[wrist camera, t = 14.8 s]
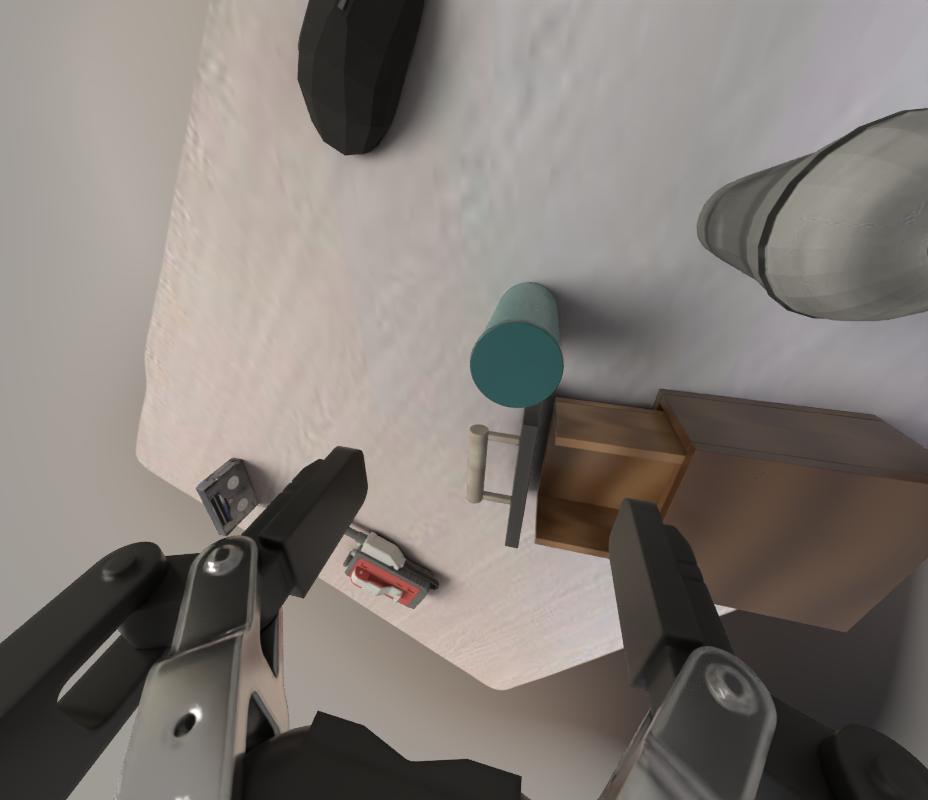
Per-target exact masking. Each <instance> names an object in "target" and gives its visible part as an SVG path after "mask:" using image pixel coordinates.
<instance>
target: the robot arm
mask: <svg viewBox="0 0 928 800" xmlns="http://www.w3.org/2000/svg"><path fill="white" fill-rule="evenodd" d="M367 490H368V483H367V476H366V469H365V462H364V455H363V452H362V451H361V450H359V449H353V448H347V447H342V446H337V447H336V448H334V449H333V451H332V452H331V453H330V454H329V455H328V456H327V457H326V458H325V460H322V459H318V460H316V461H315V462H313V463H311V464H310V465H308V466H306V467H305V468H303V469H302V470H301V471H300V473H299V474H298V475H297V476H296V477H295V478H294V479H293V480H292V483H289V484H288V485H287V486H286V488H285V489H284V490H283V492H282V493H280V494H279V495H278V496H277V497H276V498H275V499H274V500H273V501H272V503H271V504H270V505H269V506H268V507H267V508H266V509H265V510H264V511H263V512H262V513H261V514H260V515H259V516H258V518H257V519H256V520H255V521H254V522H253V523H252V524H251V525H250V526H249V527H248V528H247V529H246V530H245V531H244V532H243V533H242V534H241V535H239V536H231V537H227V538H224V539H221V540H219V541H217V542H215V543H213V544H211V545H210V546H208V547H207V548H206V549H204V550H203V551H202V552H201V553H195V554H184V555H173V556H164V554H163V552H162V551H161V549H160V548H159V547H158V545H156V544H154V543H151V542H138V543H133V544H130V545H127V546H124V547H122V548H119V549H117V550H115V551H113V552H112V553H110V554H108V555H107V556H105V557H104V558H102V559H101V560H100V561H98V562H97V563H96V564H95V565H93V566H92V567H91V568H90V569H89V570H88V571H86V572H85V573H84V574H83V575H81V576H80V577H79V578H78V579H77V580H75V581H74V582H73V583H72V584H71V585H70V586H68V587H67V588H66V589H65V590H64V591H62V592H61V593H60V594H59V595H58V596H57V597H55V598H54V599H53V600H52V601H51V602H49V603H48V604H47V605H46V606H45V607H43V608H42V609H41V610H40V611H39V612H37V613H36V614H35V615H34V616H33V617H31V618H30V619H29V620H28V621H27V622H26V623H24V625H22V626H21V627H20V628H19V629H17V630H16V631H15V632H14V633H12V634H11V635H10V636H9V637H8V638H7V639H5V640H4V641H3V642H2V643H1V644H0V800H66V799H67V798H68V796H69V795H70V794H71V792H72V791H73V790H74V789H75V787H76V786H77V785H78V783H79V782H80V781H81V780H82V778H83V777H84V776H85V774H86V773H87V772H88V770H89V769H90V768H91V766H92V765H93V764H94V763H95V761H96V760H97V759H98V757H99V756H100V755H101V754H102V752H103V751H104V750H105V748H106V747H107V746H108V745H109V743H110V742H111V741H112V739H113V738H114V737H115V735H116V734H117V733H118V732H119V730H120V729H121V727H122V726H123V725H124V724H125V722H126V721H127V720H128V719H129V717H130V716H131V715H132V713H133V712H134V711H135V709H136V708H137V707H138V706H139V707H138V711H137V714H136V718H135V722H134V725H133V729H132V733H131V736H130V740H129V745H128V748H127V752H126V755H125V759H124V762H123V766H122V770H121V774H120V777H119V781H118V785H117V788H116V792H115V796H114V799H113V800H530V799H529V798H528V797H526V796H525V795H524V794H523V793H521V778H522V777H521V776H519V775H516V774H513V773H509V772H506V771H503V770H500V769H497V768H494V767H491V766H488V765H485V764H481V763H478V762H475V761H472V760H469V759H458V760H437V761H418V762H415V761H409V760H407V759H405V758H404V757H403V756H401V755H400V754H399V753H398V752H396V751H395V750H394V749H393V748H391V747H390V746H389V745H388V744H386V743H385V742H384V741H383V740H381V739H380V738H379V737H378V736H376V735H375V734H374V733H373V732H371V731H370V730H369V729H368V728H366V727H365V726H363V725H361V724H357V723H354V722H351V721H348V720H345V719H342V718H339V717H336V716H333V715H330V714H327V713H323V712H320V711H317V714H316V716H315V718H314V720H313V723H312V725H310V726H304V727H299V728H295V729H292V730H290V728H289V714H288V705H287V700H286V695H285V690H284V677H283V611H282V605H283V603H284V602H285V600H286V599H287V597H288V596H289V595H292V596H296V597H300V598H304V597H305V596H306V594H307V592H308V591H309V589H310V588H311V586H312V585H313V583H314V581H315V580H316V578H317V577H318V575H319V573H320V572H321V570H322V569H323V567H324V565H325V564H326V562H327V561H328V559H329V557H330V556H331V554H332V553H333V551H334V549H335V548H336V546H337V545H338V543H339V541H340V540H341V538H342V537H343V535H344V534H345V532H346V530H347V529H348V527H349V526H350V524H351V522H352V521H353V519H354V518H355V516H356V514H357V513H358V511H359V510H360V508H361V506H362V505H363V503H364V501H365V498H366V495H367ZM609 558H610V564H611V570H612V576H613V583H614V589H615V595H616V601H617V607H618V614H619V620H620V626H621V632H622V638H623V645H624V651H625V656H626V663H627V669H628V676H629V681H630V686H631V687H634V688H638V689H642V690H646V691H647V695H648V700H649V705H650V710H649V711H648V712H647V714H646V716H645V718H644V719H643V721H642V723H641V724H640V726H639V728H638V730H637V732H636V734H635V735H634V737H633V739H632V741H631V742H630V744H629V746H628V748H627V749H626V751H625V753H624V755H623V757H622V759H621V760H620V762H619V764H618V766H617V767H616V769H615V771H614V773H613V775H612V776H611V778H610V780H609V782H608V784H607V785H606V787H605V789H604V790H603V792H602V793H601V795H600V796H599V798H598V799H597V800H928V769H927V768H926V767H925V766H924V765H923V764H922V763H921V762H920V761H919V760H918V759H917V758H916V757H914V756H913V755H912V754H911V753H910V752H908V751H907V750H906V749H905V748H903V747H902V746H901V745H899V744H898V743H896V742H895V741H894V740H892V739H890V738H889V737H887V736H886V735H884V734H882V733H880V732H878V731H876V730H874V729H871V728H869V727H866V726H862V725H856V724H850V725H846V726H844V727H842V728H841V729H839V730H838V731H834V730H832V729H830V728H829V727H827V726H825V725H823V724H821V723H819V722H817V721H816V720H814V719H812V718H810V717H809V716H807V715H805V714H803V713H801V712H799V711H798V710H796V709H794V708H792V707H790V706H788V705H787V704H785V703H783V702H782V701H780V700H778V699H777V698H775V697H774V696H773V695H771V694H769V692H768V690H767V689H766V687H765V686H764V684H763V683H762V681H761V680H760V679H759V678H758V676H757V675H756V674H755V673H754V672H753V671H752V670H751V669H750V668H749V667H748V666H747V665H746V664H745V663H743V662H742V661H741V660H739V659H738V658H737V657H736V656H735V654H734V652H733V650H732V648H731V645H730V643H729V640H728V638H727V635H726V633H725V630H724V628H723V625H722V623H721V620H720V618H719V615H718V613H717V610H716V608H715V605H714V603H713V600H712V598H711V596H710V593H709V591H708V588H707V586H706V583H704V578H703V576H702V573H701V571H700V568H699V567H697V561H696V558H695V556H694V553H693V551H692V548H691V546H690V544H689V542H688V541H687V540H686V539H685V538H684V536H683V535H682V534H681V533H680V532H679V530H678V529H677V528H676V527H675V526H672V525H666V524H663V521H662V519H661V516H660V513H659V510H658V507H657V505H656V504H655V503H653V502H647V501H642V500H636V499H630V498H625V499H624V500H623V502H622V504H621V507H620V509H619V512H618V515H617V517H616V520H615V523H614V525H613V528H612V531H611V534H610V538H609ZM116 630H118V631H119V632H120V633H121V635H120V636H119V637H118V639H117V640H116V641H115V642H114V643H113V644H112V645H111V646H110V647H109V648H108V649H107V650H106V651H105V652H104V653H103V654H102V656H101V657H100V658H99V659H98V660H97V661H96V662H95V663H94V664H93V665H92V666H91V667H90V668H89V669H88V671H87V672H86V673H85V674H84V675H83V676H82V677H81V678H80V679H79V680H78V681H77V682H76V683H75V684H74V685H73V686H72V688H71V689H70V690H69V691H68V692H67V693H66V694H65V695H64V696H63V697H62V698H61V699H60V700H59V701H58V702H57V699H58V696H59V693H60V691H61V690H62V688H63V686H64V685H65V684H66V682H67V681H68V680H69V679H70V677H72V675H73V674H74V673H75V672H76V671H77V670H78V669H79V668H80V667H81V666H82V665H83V664H84V663H85V662H86V661H87V660H88V659H89V658H90V657H91V656H92V655H93V654H94V653H95V651H96V650H97V649H98V648H99V647H100V646H101V645H102V644H103V643H104V642H105V641H106V640H107V639H108V638H109V637H110V636H111V635H112V634H113V633H114V632H115V631H116Z"/></svg>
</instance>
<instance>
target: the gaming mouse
mask: <svg viewBox="0 0 928 800" xmlns="http://www.w3.org/2000/svg"><path fill="white" fill-rule="evenodd" d="M423 6H424V0H309V3H308V6H307V10H306V14H305V17H304V21H303V25H302V28H301V32H300V37H299V43H298V50H299V61H298V82H299V85H300V88H301V91H302V94H303V97H304V100H305V103H306V106H307V108H308V111H309V114H310V117H311V120H312V122H313V124H314V126H315V127H316V129H317V131H318V133H319V134H320V136H321V138H322V139H323V141H324V142H325V143H327V144H328V145H330V146H331V147H333V148H334V149H336V150H338V151H339V152H341V153H342V154H344V155H355V154H364V153H367V152H370V151H372V150H373V149H374V148H375V147H377V146H378V145H379V143H380V141H381V140H382V138H383V137H384V135H385V133H386V132H387V130H388V128H389V127H390V125H391V123H392V120H393V117H394V113H395V110H396V107H397V104H398V101H399V97H400V93H401V89H402V85H403V81H404V77H405V73H406V70H407V67H408V63H409V60H410V56H411V53H412V50H413V46H414V43H415V39H416V35H417V31H418V27H419V23H420V19H421V15H422V11H423Z"/></svg>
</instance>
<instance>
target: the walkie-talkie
mask: <svg viewBox="0 0 928 800" xmlns="http://www.w3.org/2000/svg"><path fill="white" fill-rule="evenodd" d="M345 534H346V535H347V536H349V537H351V538H353V539H355V540H356V542H357V544H356V545H357V546H358V547H359V548H358V550H356V549H353V551H351V552H350V553H349V555H348V557H347V559H346V560H345V562H344V564H343V566H345V567H346V566H347V565H348V568H347V569H346V571H345V574H346V575H348V576H349V577H351V582H352V583H353V584H354V585H356V586H358V587H360V588H364V590H366V591H367V592H369V593H371V594H373V595H375V596H378V595H386V596H388V597H390V598H392V599H393V600H392V601H393V602H394V603H396V602H399V603H401V604H403V605H405V606H407V607H409V608H413V609H415V607H416V606H417V605H418V604H419V603H420V602H421V601H422V600H423V599H424V598H425V596H426V595H427V593H428V590H429V588H430V589H433V590H435V589H438V586H439V582H438V581H437V580H436V579H434V578H433V576H432V574H431V572H430V571H428V570H426V569H424V568H422V567H421V566H419V565H417V564H415V563H413V562H411V561H409V560H407V559H406V558H404V555H403V554H402V553H401V551H400V550H399V548H398V547H397V546H396V545H394V544H392V543H390V542H389V541H387V540H385V539H383V538H381V537H379V536H377V535H376V534H375V533H373V532H371V533H370V535H369V536H368V535H366V534H364V533H362V532H358V531H356V530H354V529H352V528H350V527H348V529H347V530H346V532H345Z"/></svg>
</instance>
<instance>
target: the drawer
mask: <svg viewBox="0 0 928 800" xmlns="http://www.w3.org/2000/svg"><path fill="white" fill-rule="evenodd" d="M539 411H540V403H538V404H535V405H533V406H529V407H524V412H523V419H522V426H521V433H520V436H517V435H511V434H504V433H498V432H491V431H489V430H488V428H487V427H486V426H484V425H473V426H472V427H471V428H470V438H469V457H468V476H467V495H466V497H467V500H468V501H469V502H471V503H479V502H481V501H482V499H483V500H488V501H494V502H499V503H504V504H510V512H509V519H508V527H507V534H506V542H505V546H509V547H513V548H518V545H519V539H520V533H521V527H522V521H523V515H524V510H525V504H526V498H527V492H528V486H529V480H530V475H531V469H532V463H533V457H534V451H535V445H536V440H537V434H538V428H539ZM488 432H489V433H488ZM488 440H490V441H496V442H503V443H509V444H515V445H519V447H518V454H517V461H516V468H515V476H514V483H513V490H512V496H508V495H503V494H497V493H492V492H486V491H484V479H485V467H486V456H487V444H488ZM686 454H687V451H686V450H685V448H684V446H683V444H682V442H681V441H680V439H679V437H678V435H677V433H676V432H675V430H674V428H673V426H672V424H671V423H670V421H669V419H668V417H667V415H666V414H665V412H664V411H659V410H651V409H643V408H636V407H628V406H620V405H613V404H605V403H598V402H590V401H582V400H575V399H567V398H560V397H555V402H554V407H553V413H552V418H551V423H550V428H549V434H548V439H547V444H546V449H545V455H544V460H543V465H542V470H541V476H540V481H539V486H538V491H537V502H536V523H535V544H539V545H544V546H549V547H554V548H559V549H564V550H569V551H574V552H578V553H583V554H588V555H593V556H598V557H603V558H608V559H610V558H609V538H610V534H611V531H612V528H613V525H614V523H615V520H616V517H617V515H618V512H619V509H620V507H621V504H622V502H623V500H624V499H625V498H630V499H636V500H642V501H647V502H653V503H655V504H656V505H657V507H658V510H659V513H660V512H661V509H662V507H663V505H664V503H665V500H666V498H667V496H668V494H669V491H670V489H671V487H672V485H673V483H674V480H675V478H676V476H677V474H678V471H679V469H680V467H681V465H682V462H683V460H684V458H685V456H686ZM483 491H484V492H483Z"/></svg>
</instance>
